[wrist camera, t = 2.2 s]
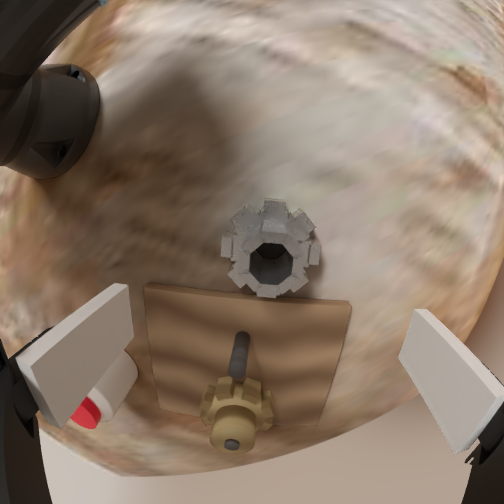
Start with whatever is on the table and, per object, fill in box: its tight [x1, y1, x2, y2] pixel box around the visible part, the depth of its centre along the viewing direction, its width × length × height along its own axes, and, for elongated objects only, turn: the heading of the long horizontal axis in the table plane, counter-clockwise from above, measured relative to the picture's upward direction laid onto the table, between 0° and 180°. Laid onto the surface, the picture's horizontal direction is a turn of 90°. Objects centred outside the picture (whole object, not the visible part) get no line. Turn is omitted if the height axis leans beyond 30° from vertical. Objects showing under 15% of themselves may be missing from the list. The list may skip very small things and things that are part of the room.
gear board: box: [143, 283, 352, 454], centre depth 26 cm, size 19×22×9 cm
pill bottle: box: [70, 350, 138, 429], centre depth 27 cm, size 8×8×11 cm
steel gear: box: [221, 198, 321, 298], centre depth 24 cm, size 9×9×7 cm
